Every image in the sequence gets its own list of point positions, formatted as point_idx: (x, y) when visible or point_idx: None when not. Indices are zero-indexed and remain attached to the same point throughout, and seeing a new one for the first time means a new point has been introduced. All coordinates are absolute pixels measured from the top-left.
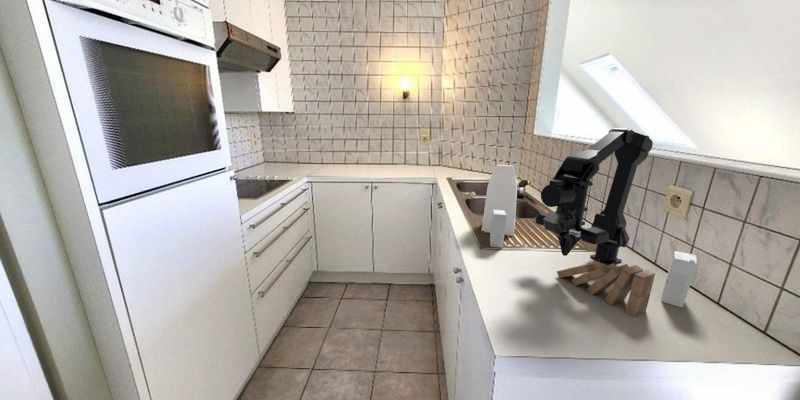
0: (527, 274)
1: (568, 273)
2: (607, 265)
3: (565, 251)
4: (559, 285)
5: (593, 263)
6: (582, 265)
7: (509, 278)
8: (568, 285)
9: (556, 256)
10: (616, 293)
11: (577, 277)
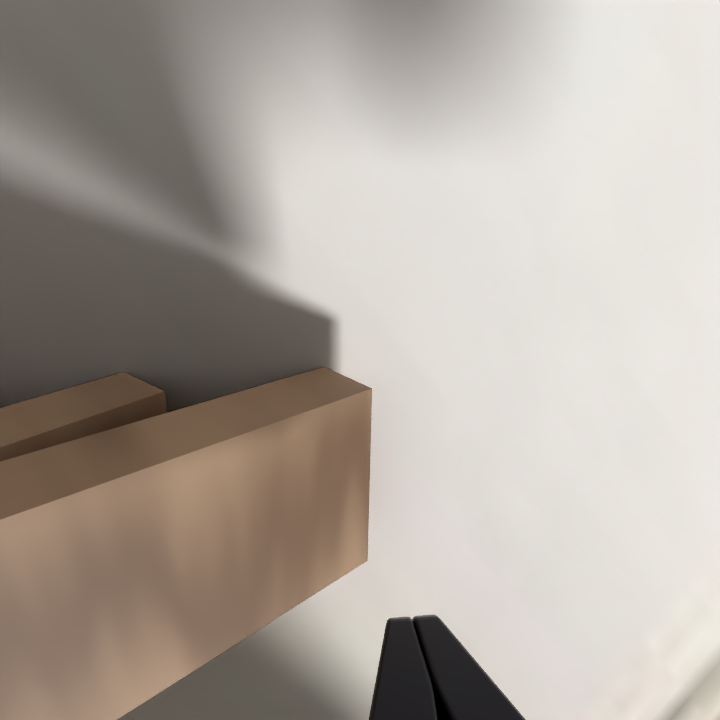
0: (554, 77)
1: (204, 416)
2: None
3: (390, 693)
4: (191, 223)
5: None
6: (90, 633)
7: None
8: (158, 320)
9: (613, 664)
10: None
11: (62, 422)
